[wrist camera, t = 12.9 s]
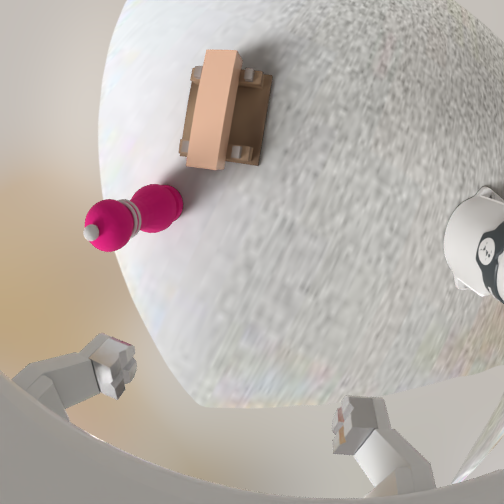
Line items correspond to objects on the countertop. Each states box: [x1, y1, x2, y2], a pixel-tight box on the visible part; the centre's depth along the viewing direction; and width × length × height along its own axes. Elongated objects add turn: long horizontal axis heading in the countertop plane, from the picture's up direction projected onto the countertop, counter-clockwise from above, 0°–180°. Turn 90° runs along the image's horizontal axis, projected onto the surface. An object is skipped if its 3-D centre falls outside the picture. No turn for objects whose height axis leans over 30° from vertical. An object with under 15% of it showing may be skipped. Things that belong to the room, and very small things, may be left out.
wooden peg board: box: [179, 66, 273, 166], centre depth 36 cm, size 12×14×6 cm
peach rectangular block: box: [186, 50, 243, 170], centre depth 33 cm, size 4×16×4 cm, turn 171°
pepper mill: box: [84, 184, 183, 252], centre depth 35 cm, size 7×7×20 cm
